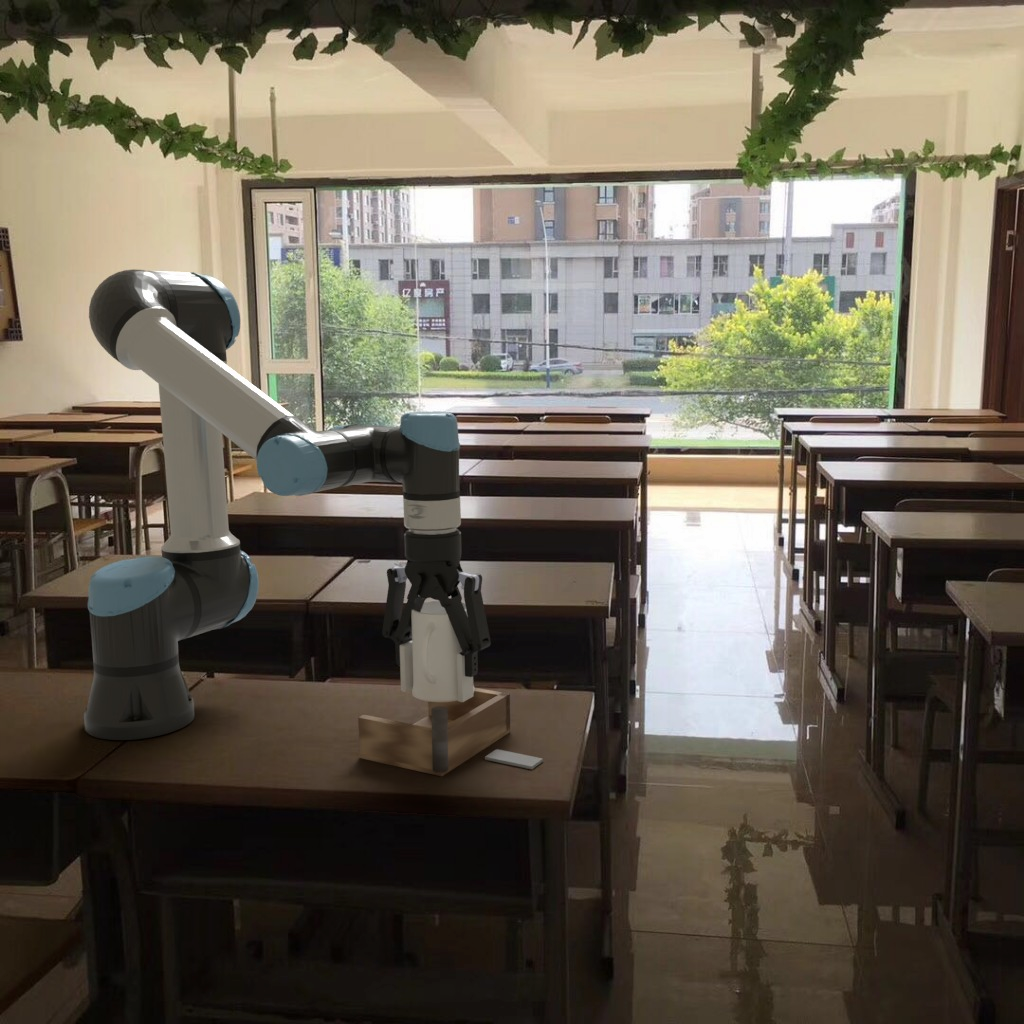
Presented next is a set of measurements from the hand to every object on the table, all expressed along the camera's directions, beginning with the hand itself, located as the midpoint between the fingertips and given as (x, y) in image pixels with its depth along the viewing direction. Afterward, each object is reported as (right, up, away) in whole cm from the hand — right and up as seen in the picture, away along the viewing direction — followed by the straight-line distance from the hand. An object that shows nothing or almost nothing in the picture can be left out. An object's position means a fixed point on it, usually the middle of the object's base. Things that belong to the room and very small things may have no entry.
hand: (436, 693), depth 146 cm
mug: (0, -1, 0) cm, 1 cm away
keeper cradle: (0, -7, +1) cm, 7 cm away
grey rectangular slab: (+10, -8, -5) cm, 14 cm away
